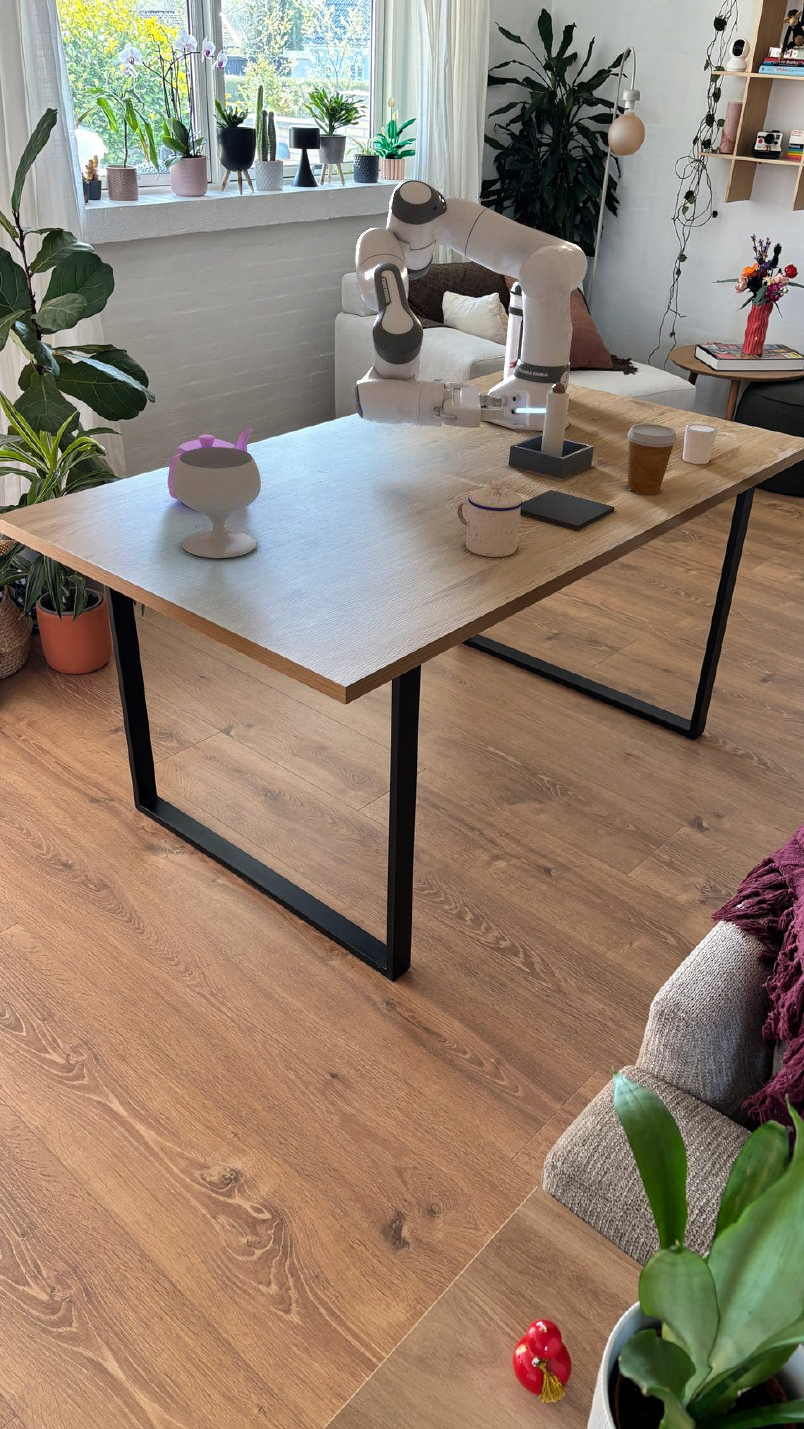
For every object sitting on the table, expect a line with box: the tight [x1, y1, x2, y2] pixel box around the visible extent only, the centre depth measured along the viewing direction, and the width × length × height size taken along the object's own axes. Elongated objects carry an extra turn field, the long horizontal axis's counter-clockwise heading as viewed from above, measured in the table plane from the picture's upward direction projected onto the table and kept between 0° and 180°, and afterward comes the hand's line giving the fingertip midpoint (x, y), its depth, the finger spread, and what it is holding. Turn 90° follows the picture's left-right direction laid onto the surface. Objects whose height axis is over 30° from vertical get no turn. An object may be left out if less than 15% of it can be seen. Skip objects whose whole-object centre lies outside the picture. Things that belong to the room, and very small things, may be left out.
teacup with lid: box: [455, 480, 524, 558], centre depth 183 cm, size 12×9×12 cm
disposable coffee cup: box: [626, 423, 678, 496], centre depth 213 cm, size 10×10×12 cm
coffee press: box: [500, 279, 524, 382], centre depth 276 cm, size 17×16×30 cm
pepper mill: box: [541, 382, 570, 457], centre depth 222 cm, size 4×4×17 cm
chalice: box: [173, 447, 262, 559], centre depth 176 cm, size 14×14×15 cm
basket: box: [508, 433, 595, 480], centre depth 225 cm, size 13×13×5 cm
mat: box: [520, 489, 616, 532], centre depth 202 cm, size 14×14×1 cm
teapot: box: [167, 427, 254, 502], centre depth 198 cm, size 20×13×12 cm, turn 141°
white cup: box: [682, 423, 719, 465], centre depth 234 cm, size 7×7×7 cm
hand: (502, 408), depth 220 cm, fingers open, 8 cm apart
